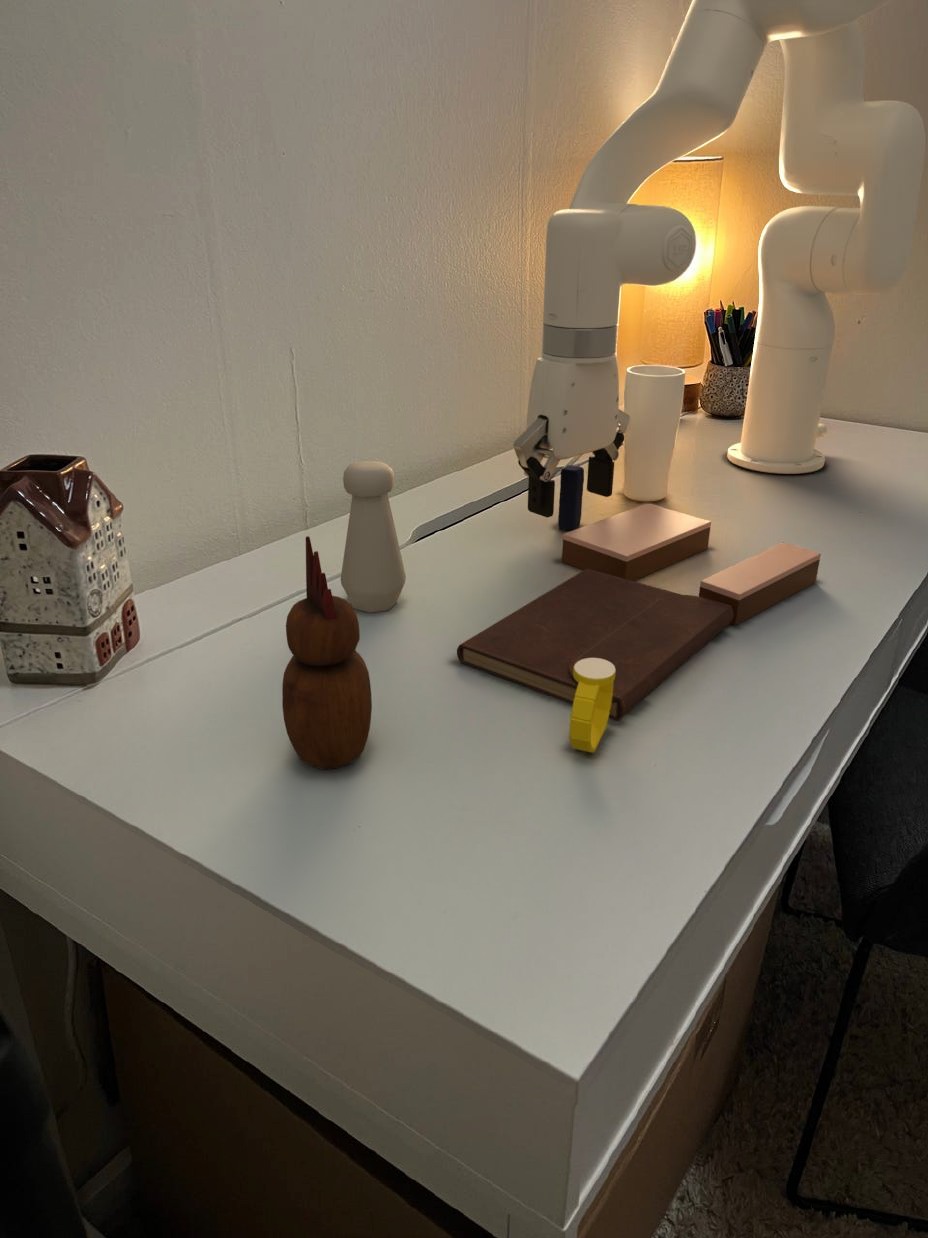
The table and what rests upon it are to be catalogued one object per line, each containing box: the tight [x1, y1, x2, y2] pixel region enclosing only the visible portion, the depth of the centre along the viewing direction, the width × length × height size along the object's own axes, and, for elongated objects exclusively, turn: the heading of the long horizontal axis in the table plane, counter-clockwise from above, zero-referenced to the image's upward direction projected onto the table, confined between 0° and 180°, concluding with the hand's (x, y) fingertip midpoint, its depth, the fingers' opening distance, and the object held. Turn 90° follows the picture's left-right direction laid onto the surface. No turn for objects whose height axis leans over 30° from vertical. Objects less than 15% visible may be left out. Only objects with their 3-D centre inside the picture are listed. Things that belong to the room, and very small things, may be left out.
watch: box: [568, 658, 616, 754], centre depth 63 cm, size 6×3×6 cm, turn 157°
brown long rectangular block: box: [698, 542, 822, 626], centre depth 85 cm, size 14×4×3 cm, turn 133°
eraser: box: [557, 464, 585, 532], centre depth 101 cm, size 2×2×7 cm
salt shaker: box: [340, 460, 407, 614], centre depth 81 cm, size 6×6×13 cm
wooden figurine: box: [281, 536, 373, 770], centre depth 59 cm, size 7×6×15 cm
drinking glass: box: [622, 364, 686, 503], centre depth 109 cm, size 7×7×15 cm
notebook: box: [456, 569, 734, 722], centre depth 77 cm, size 15×20×2 cm
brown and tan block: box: [561, 502, 712, 582], centre depth 94 cm, size 14×8×3 cm, turn 133°
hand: (570, 503), depth 101 cm, fingers open, 9 cm apart
